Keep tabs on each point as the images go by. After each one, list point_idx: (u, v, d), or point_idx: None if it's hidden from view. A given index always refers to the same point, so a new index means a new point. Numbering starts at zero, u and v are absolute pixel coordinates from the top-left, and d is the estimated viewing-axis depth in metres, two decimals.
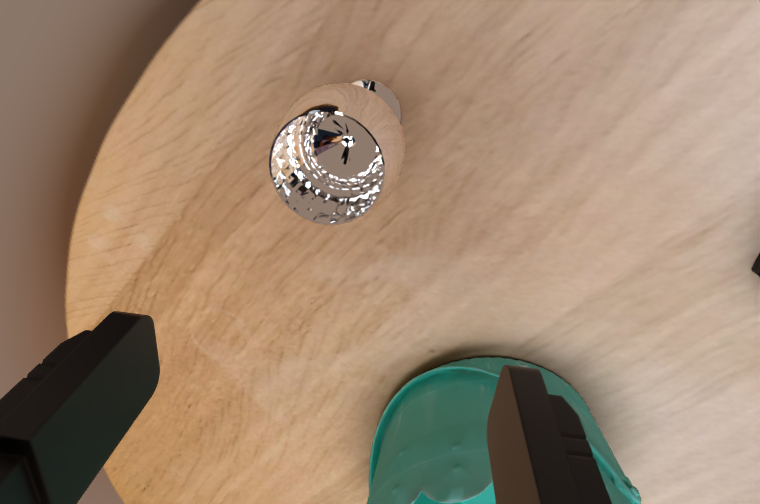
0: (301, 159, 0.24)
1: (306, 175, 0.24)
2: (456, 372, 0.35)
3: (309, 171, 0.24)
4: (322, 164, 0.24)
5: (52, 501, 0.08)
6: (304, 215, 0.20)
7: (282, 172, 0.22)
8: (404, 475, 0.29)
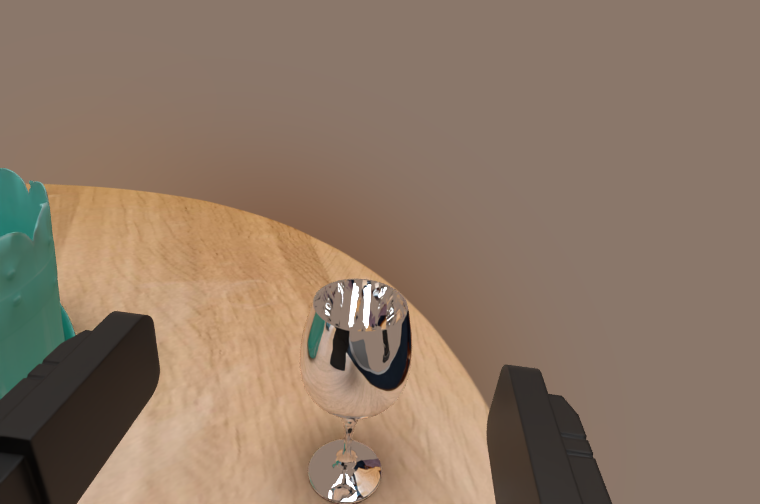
0: None
1: None
2: None
3: None
4: None
5: (52, 502, 0.08)
6: (336, 284, 0.25)
7: (366, 312, 0.27)
8: (47, 255, 0.29)
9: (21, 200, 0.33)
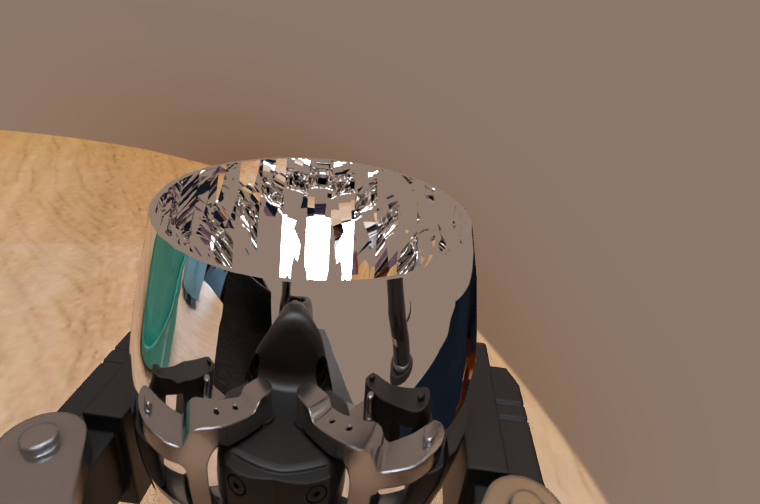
0: None
1: None
2: None
3: None
4: None
5: (136, 478, 0.09)
6: (258, 167, 0.09)
7: (345, 259, 0.11)
8: None
9: None
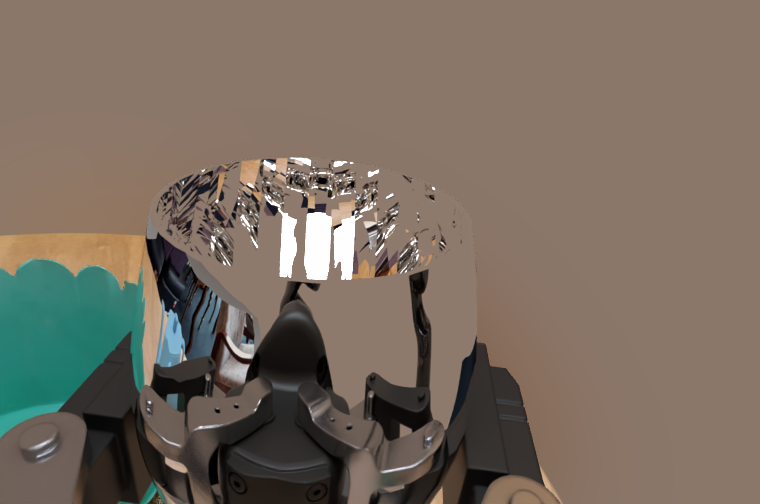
0: None
1: None
2: None
3: None
4: None
5: (136, 477, 0.09)
6: (259, 167, 0.09)
7: (345, 259, 0.11)
8: None
9: (113, 296, 0.34)
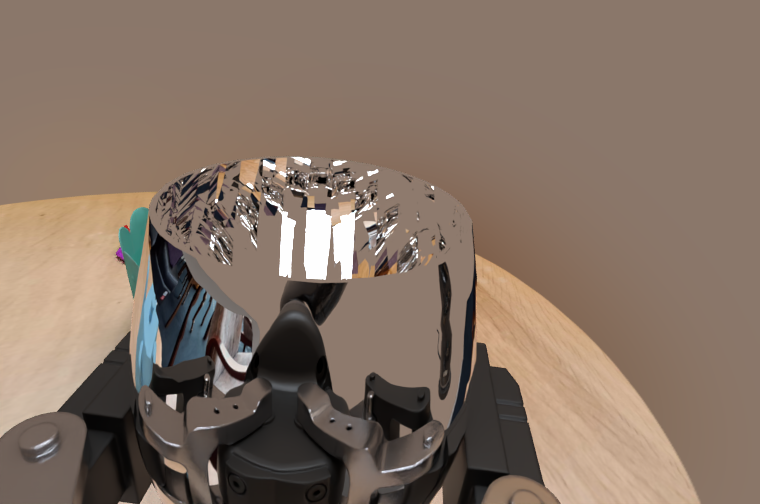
0: None
1: None
2: None
3: None
4: None
5: (135, 478, 0.09)
6: (258, 166, 0.09)
7: (345, 258, 0.11)
8: None
9: None
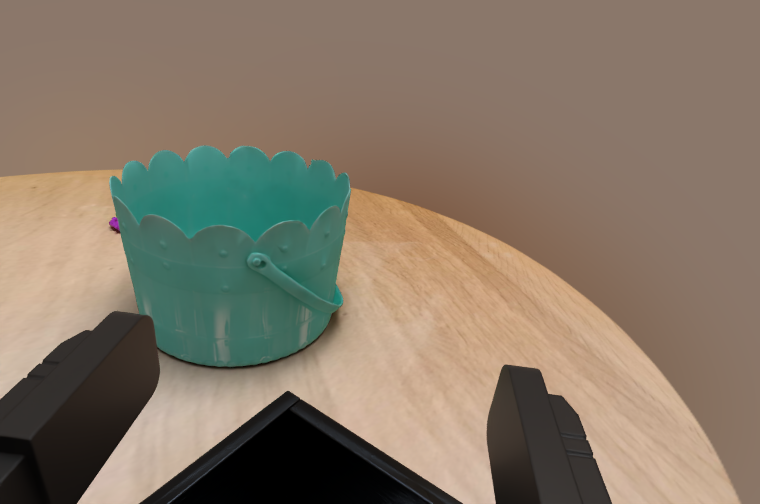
0: None
1: None
2: None
3: None
4: None
5: (53, 501, 0.08)
6: None
7: None
8: None
9: (298, 174, 0.47)
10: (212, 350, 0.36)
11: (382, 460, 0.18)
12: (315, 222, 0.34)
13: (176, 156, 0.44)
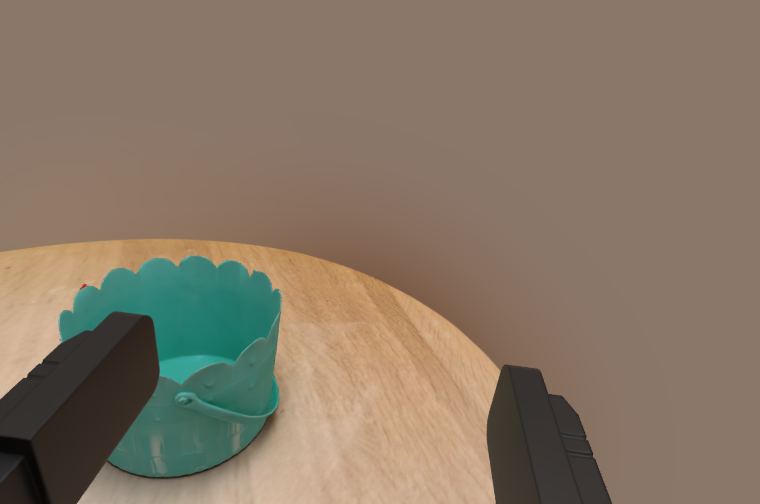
0: None
1: None
2: (267, 407, 0.48)
3: None
4: None
5: (52, 502, 0.08)
6: None
7: None
8: None
9: (242, 280, 0.52)
10: (150, 465, 0.41)
11: None
12: (238, 358, 0.39)
13: (128, 271, 0.49)
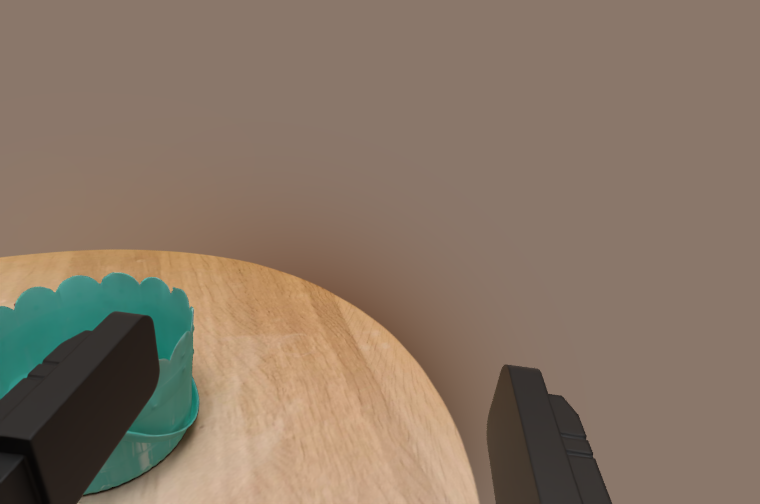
0: None
1: None
2: (184, 424, 0.49)
3: None
4: None
5: (53, 501, 0.08)
6: None
7: None
8: (192, 338, 0.48)
9: (164, 297, 0.53)
10: None
11: None
12: None
13: (46, 290, 0.49)
